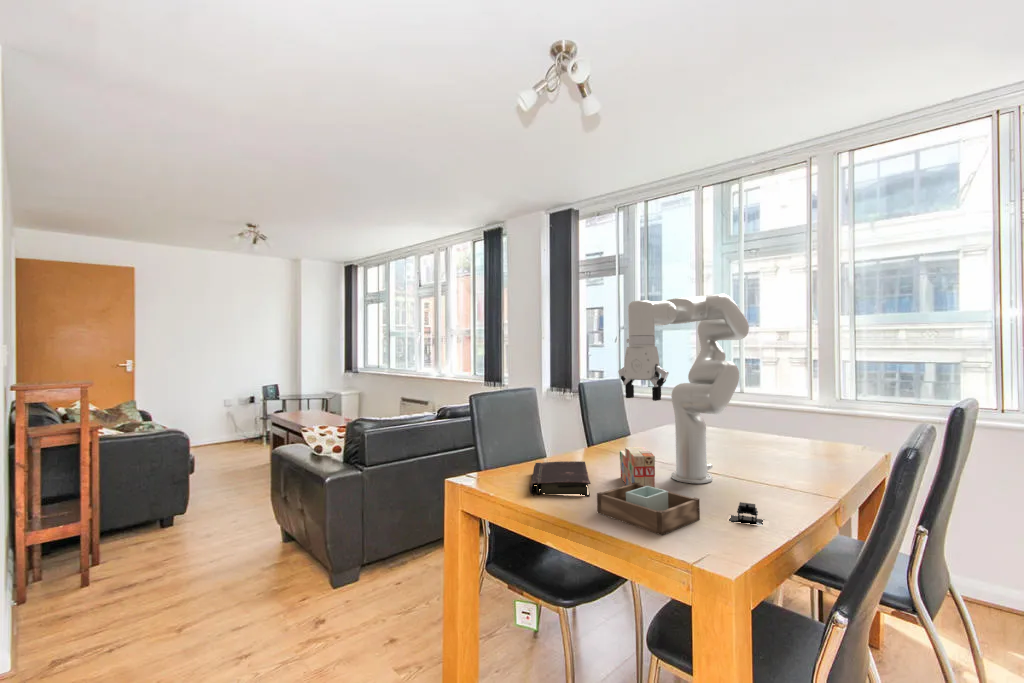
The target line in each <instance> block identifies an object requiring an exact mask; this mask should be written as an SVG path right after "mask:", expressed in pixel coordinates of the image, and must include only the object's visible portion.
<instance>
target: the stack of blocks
mask: <svg viewBox="0 0 1024 683" xmlns="http://www.w3.org/2000/svg"><path fill="white" fill-rule="evenodd" d="M624 449H625V450H619V461H620V462H619V465H620V478H621V477H622V478H621V480H622V479H623V480H622V481H624V482H625V483H624V482H623V483H624V484H626V485H629V484H632V483H634V482H636V483H639V484H641V485H645V486H650V487H654V488H656V481H655V480H656V478H655V477H656V466H655V465H656V456H655V455H654V454H653V453H652V452H651V451H650V450H649V449H648V448H646V447H645V446H635V447H634V446H631V447H629V446H627V447H626V446H625V448H624ZM626 485H625V486H626Z"/></svg>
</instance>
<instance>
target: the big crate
mask: <svg viewBox="0 0 1024 683" xmlns="http://www.w3.org/2000/svg"><path fill="white" fill-rule="evenodd" d="M644 486H645V485H641V484H639V483H636V482H634V483H632V484H629V485H623V486H619V487H616V488H613V489H612V488H611V489H609V490H605V491H602V492H601V491H600V492H597V493H596V502H597V503H596V505H597V506H596V508H597V512H598V513H597V512H596V513H597V514H599V513H601V514H600V515H602V514H604V515H603V516H605V515H606V517H608V516H609V517H608V518H611V517H612V518H611V519H614V520H617V521H619V520H620V522H622V521H623V522H622V523H625V522H626V524H629V525H632V526H634V527H637V528H640V529H643V530H646V531H649V532H651V533H655V534H657V535H660V536H663V535H666V534H669V533H672V532H673V531H676V530H678V529H681V528H683V527H685V526H687V525H690V524H692V523H695V522H697V521H700V519H701V517H700V516H701V513H700V510H701V509H700V508H701V507H700V498H697V497H691V496H688V495H683V494H681V493H680V494H678V493H676V492H671V491H668V509H667V510H664V511H662V510H659V511H657V510H653V509H650V508H647V507H643V506H640V505H637V504H634V503H630V502H627V501H626V492H628V491H631V490H635V489H638V488H641V487H644Z"/></svg>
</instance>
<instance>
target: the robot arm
mask: <svg viewBox="0 0 1024 683" xmlns="http://www.w3.org/2000/svg"><path fill="white" fill-rule="evenodd" d="M627 307H628V310H627V311H628V316H627V317H628V338H627V339H626V343H628V346H627V347H626V350H625V353H624V354H625V355H624V364H623V365H624V366H623V367H622V368H620V369H619V370H618V372H617V373H618V374H619V377H620V380H621V382H623V385H624V387H625V399H633V398H635V385H634V384H633V383H634V382H635V381H650V382H651V384H652V385H653V386H652V389H651V390H652V397H651V398H652V402H654V401H655V402H656V401H661V400H662V387H663V386H664V384H665V383H666V381H667V379H668V377H669V374H670V372H669V371H667V370H666V369H664V368H663V367H661V366H660V356H659V352H658V347H657V346H656V336H655V335H656V333H655V332H656V331H655V330H656V329H655V326H656V327H657V326H660V327H661V326H667V325H678V324H679V325H680V324H687V323H696V322H699V323H698V326H697V334H698V338H699V346H700V351H699V353H698V355H697V356H696V359H695V360H694V362H693V364H692V365H691V368H690V369H689V372H688V375H687V376H688V377H687V378H688V379H687V380H688V382H681V383H679V384H677V385H675V386H674V387H673V389H672V391H671V403H672V407H673V412H674V423H675V424H674V425H675V427H674V428H675V431H674V432H675V433H674V434H675V465H676V466H675V467H676V468H675V469H676V470H675V471H673V472H671V478H672V480H675V481H677V482H681V483H686V484H709V483H711V482H712V481H713V477H712V475H711V474H709V473H708V471H709V470H711V469H713V464H711V463H708V462H707V460H708V459H707V426H706V423H705V420H704V418H703V416H702V415H701V414H706V415H719V414H722V413H724V411H725V410H726V409H727V407H728V405H729V403H730V402H731V400H732V397H733V395H734V393H735V391H736V389H737V387H738V385H739V382H740V370H739V368H738V366H737V365H736V364H735V363H734V362H733V361H729V360H726V353H725V351H724V349H723V348H722V346H721V345H720V344H719V341H739V340H743V339H745V338H746V337H747V336H748V333H749V331H750V326H749V321H748V319H747V318H746V316H745V315H744V313H743V312H742V310H741V309H740V307H739V306H738V304H737V303H736V302H735V300H734V299H732V297H730V296H729V295H727V294H725V293H718V294H709V295H708V294H707V295H698V296H697V295H696V296H683V297H677V298H671V299H665V300H659V301H658V300H657V301H651V300H643V299H642V300H634V301H630V302H629V304H628V306H627Z"/></svg>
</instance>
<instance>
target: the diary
mask: <svg viewBox="0 0 1024 683" xmlns="http://www.w3.org/2000/svg"><path fill="white" fill-rule="evenodd" d="M534 485H537V487H535V488H536V493H537V494H538V493H539V489H541V490H540V493H541V494H542V493H545V494H580V495H581V494H582V495H585V496H587V497H590V496H591V494H590V492H589V495H590V496H589V495H587V487H586V485H587V486H588V487H589V485H592V484H591V481H590V479H589V474H588V470H587V465H586V461H576V460H575V461H571V460H569V461H568V460H567V461H561V460H560V461H546V462H535V463H534V466H533V472H532V476H531V480H530V485H529V493H530V495H531V494H533V489H534V490H535V488H534ZM533 495H534V494H533Z"/></svg>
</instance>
